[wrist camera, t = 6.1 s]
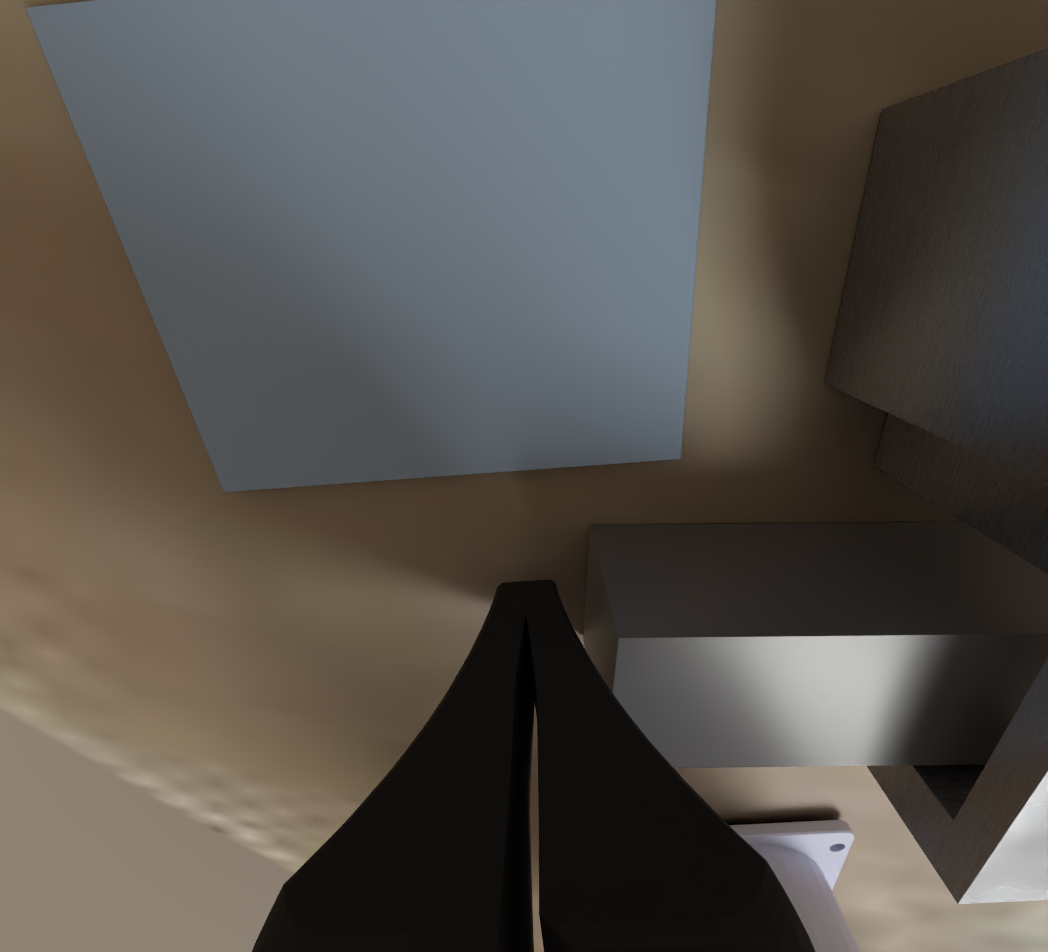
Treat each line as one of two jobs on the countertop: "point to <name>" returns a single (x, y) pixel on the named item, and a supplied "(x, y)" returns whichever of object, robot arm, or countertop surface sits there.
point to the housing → (964, 409)
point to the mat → (404, 222)
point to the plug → (815, 640)
